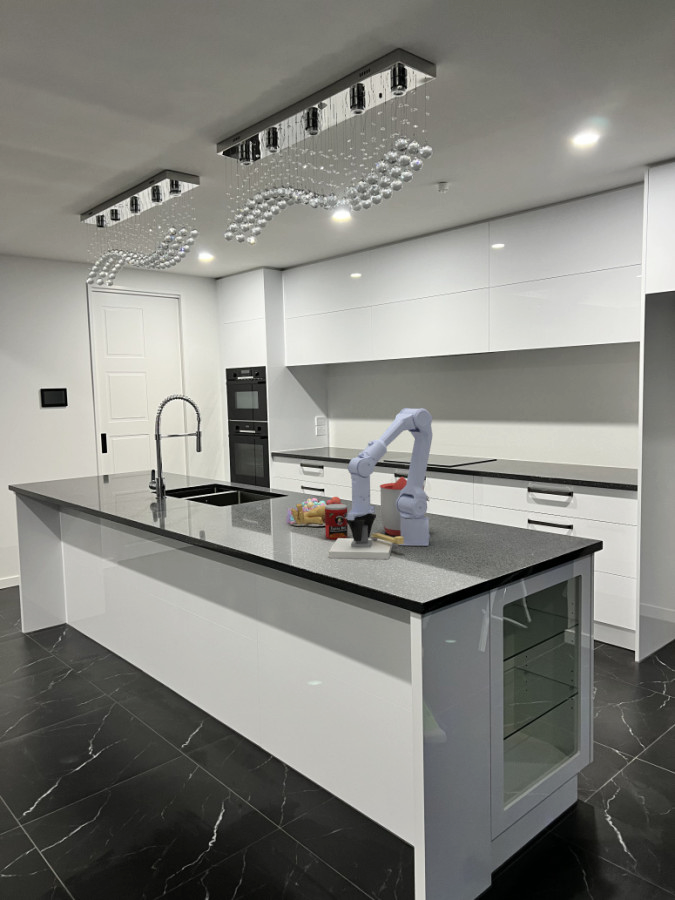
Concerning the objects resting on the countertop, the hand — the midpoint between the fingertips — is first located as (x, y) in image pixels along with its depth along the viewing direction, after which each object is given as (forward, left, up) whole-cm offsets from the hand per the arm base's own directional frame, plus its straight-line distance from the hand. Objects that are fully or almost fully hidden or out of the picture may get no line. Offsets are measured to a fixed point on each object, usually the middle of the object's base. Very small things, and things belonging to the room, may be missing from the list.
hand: (361, 539), depth 210 cm
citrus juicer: (-12, -27, -4) cm, 30 cm away
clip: (-8, -2, -2) cm, 8 cm away
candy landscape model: (+23, -47, -4) cm, 52 cm away
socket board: (0, 0, -4) cm, 4 cm away
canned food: (+11, -19, -4) cm, 22 cm away
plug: (0, 0, -4) cm, 4 cm away
